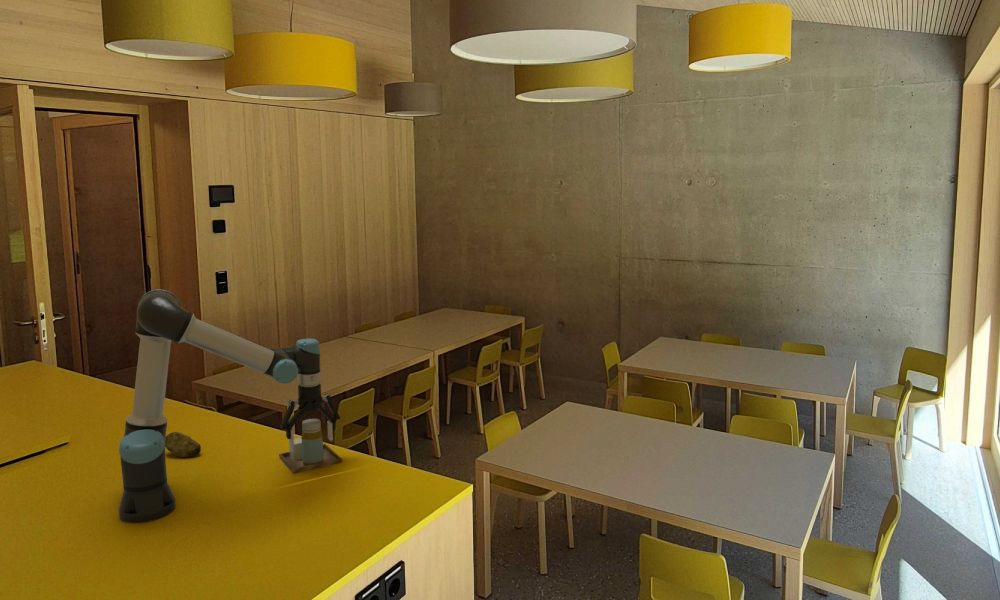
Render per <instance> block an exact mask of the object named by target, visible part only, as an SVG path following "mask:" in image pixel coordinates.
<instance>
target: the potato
mask: <svg viewBox="0 0 1000 600" xmlns="http://www.w3.org/2000/svg"><path fill="white" fill-rule="evenodd" d="M201 448H202V447H201V444H200V443H199V442H198V441H196V440H195V439H193V438H192V437H191V436H189V435H186V434H184V433H183V432H179V431H173V432H170V433H169V434H166V440H165V449H166V450H168V452H171V453H172V454H174V455H175V456H176V457H180V458H190V457H195V456H197V455H198V454H200V453H201V450H202V449H201Z"/></svg>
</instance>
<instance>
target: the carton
mask: <svg viewBox="0 0 1000 600" xmlns="http://www.w3.org/2000/svg"><path fill="white" fill-rule="evenodd" d="M288 447H289V448H288V449H289V451H288V452H290V457H291V458H292V459H293V460H294V461H296V460H300V459H303V457H302V437H298V438H297V437H296V438H294V448H293V449H292V448H291V447H290V446H289V445H288Z"/></svg>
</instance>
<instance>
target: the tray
mask: <svg viewBox="0 0 1000 600" xmlns="http://www.w3.org/2000/svg"><path fill="white" fill-rule="evenodd" d="M278 455H279V456H278V457H279V459H280V461H281V462H282V463H283V464H284V465H285V467H286V468H288V470H290V472H291V473H292V474H293V475H294V474H297V473H298V474H299V473H302V472H306V471H310V470H311V471H312V470H315V469H319V468H322V467H328V466H332V465H336V464H341V463H342V462H343V458H342V457H340V455H338V454H337V452H335V451H334V450H333V449H332V448H331V447H330V446H329V445H327V444H326V443H323V462H321V463H316V464H312V465H308V466H306V465H305V464H304V463H303V459H300V460H296V461H294V460H293V459H292V458H291V457H290V452H289V451H287V452H282V453H278Z"/></svg>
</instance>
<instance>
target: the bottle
mask: <svg viewBox="0 0 1000 600" xmlns="http://www.w3.org/2000/svg"><path fill="white" fill-rule="evenodd" d="M321 426H322V425H321V419H319V418H308V419H305V420H302V423H301V427H302V428H301V430H302V433H301V438H302V457H303V463H304V464H305V465H306V466H308V465H312V464H316V463H321V462H323V444H324V443H323V442H324V440H323V438H324V437H323V431H322V428H321Z"/></svg>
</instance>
